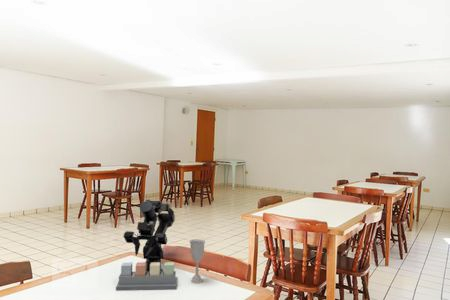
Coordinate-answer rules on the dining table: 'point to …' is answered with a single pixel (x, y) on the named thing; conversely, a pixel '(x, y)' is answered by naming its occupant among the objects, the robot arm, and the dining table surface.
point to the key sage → (168, 268)
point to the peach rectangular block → (141, 269)
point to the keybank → (147, 282)
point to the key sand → (155, 269)
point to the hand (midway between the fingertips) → (141, 255)
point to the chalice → (197, 256)
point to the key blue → (126, 269)
